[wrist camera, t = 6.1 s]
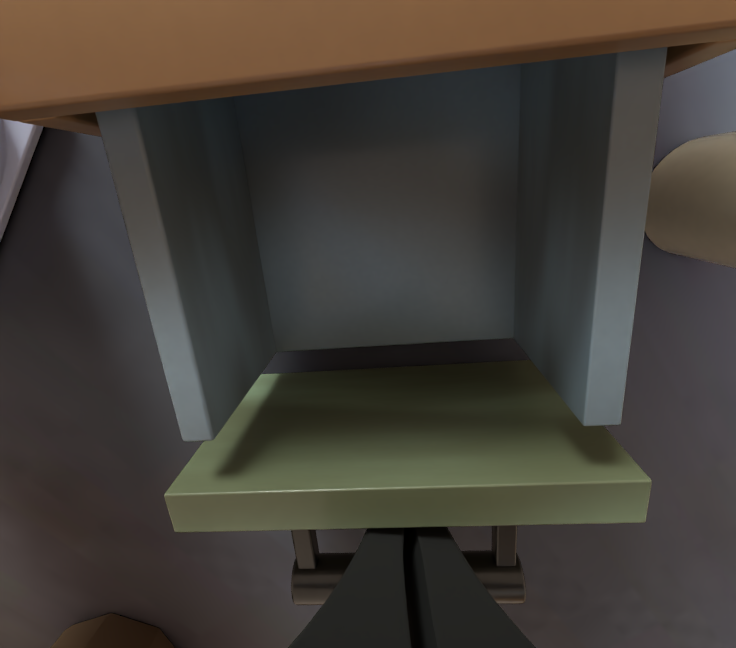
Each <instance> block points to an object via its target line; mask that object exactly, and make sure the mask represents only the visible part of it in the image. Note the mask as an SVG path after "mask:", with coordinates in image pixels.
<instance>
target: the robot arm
mask: <svg viewBox="0 0 736 648" xmlns="http://www.w3.org/2000/svg"><path fill="white" fill-rule="evenodd" d="M42 129H43V126H38V125H32V124H27V123H22V122H19V121H11V120H5V119H0V242H1V239H2V236H3V234H4V231H5V228H6V226H7V223H8V220H9V218H10V215H11V212H12V210H13V207H14V204H15V202H16V199H17V196H18V194H19V191H20V188H21V185H22V183H23V180H24V177H25V175H26V172H27V169H28V167H29V164H30V161H31V159H32V156H33V153H34V151H35V148H36V145H37V143H38V140H39V137H40V135H41V132H42ZM288 648H536V647H535V646H534V645H533V644H532V643H531V642H530V641H529V640H528V639H527V638H526V636H525V635H524V634H523V633H522V632H521V631H520V630H519V628H518V627H517V626H516V625H515V624H514V623H513V622H512V620H511V619H510V618H509V617H508V616H507V615H506V613H505V612H504V611H503V610H502V609H501V607H500V606H499V605H498V604H497V602H496V601H495V600H494V599H493V597H492V596H491V595H490V593H489V592H488V591H487V589H486V588H485V587H484V585H483V584H482V582H481V581H480V580H479V578H478V577H477V575H476V574H475V573H474V571H473V570H472V568H471V567H470V565H469V564H468V562H467V560H466V559H465V557H464V556H463V554H462V552H461V551H460V549H459V547H458V546H457V544H456V542H455V541H454V539H453V537H452V535H451V533H450V532H449V530H448V528H447V527H411V528H368V529H367V531H366V533H365V535H364V537H363V539H362V541H361V543H360V545H359V547H358V550H357V551H356V553H355V555H354V557H353V559H352V561H351V562H350V564H349V566H348V568H347V569H346V571H345V573H344V574H343V576H342V578H341V579H340V581H339V582H338V584H337V585H336V587H335V588H334V590H333V591H332V593H331V594H330V596H329V597H328V599H327V600H326V601H325V603H324V604H323V606H322V607H321V608H320V609H319V611H318V612H317V613H316V615H315V616H314V617H313V618H312V620H311V621H310V622H309V624H308V625H307V626H306V627H305V629H304V630H303V631H302V632H301V633H300V635H299V636H298V637H297V638H296V639H295V640H294V641H293V642H292V644H291V645H290V646H289V647H288Z"/></svg>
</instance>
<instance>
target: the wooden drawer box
mask: <svg viewBox="0 0 736 648" xmlns="http://www.w3.org/2000/svg"><path fill="white" fill-rule="evenodd" d="M662 47H667V55H666V63H665V71H664V78H666V77H668V76H670V75H673V74H675V73H678V72H680V71H683V70H685V69H688V68H690V67H693V66H695V65H697V64H700V63H702V62H705V61H707V60H710V59H712V58H715V57H717V56H719V55H722V54H724V53H727V52H729V51H732V50H734V49H736V0H0V119H5V120H11V121H19V122H22V123H27V124H32V125H38V126H43V127H49V128H55V129H60V130H66V131H72V132H77V133H83V134H89V135H94V136H100V137H102V136H101V132H100V129H99V125H98V121H97V117H96V114H95V112H100V111H109V110H118V109H127V108H136V107H144V106H153V105H162V104H171V103H179V102H188V101H197V100H206V99H214V98H223V97H232V96H241V95H250V94H258V93H267V92H276V91H285V90H293V89H302V88H311V87H320V86H329V85H337V84H346V83H355V82H364V81H372V80H381V79H390V78H399V77H407V76H416V75H425V74H434V73H443V72H451V71H460V70H469V69H478V68H486V67H495V66H504V65H513V64H521V63H530V62H539V61H548V60H557V59H565V58H574V57H583V56H592V55H600V54H609V53H618V52H627V51H636V50H644V49H653V48H662Z"/></svg>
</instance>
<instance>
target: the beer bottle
mask: <svg viewBox="0 0 736 648" xmlns="http://www.w3.org/2000/svg"><path fill="white" fill-rule="evenodd" d="M51 648H175V647H174V646H173V645H172V643H171V642H170V641H169V640H168V639H167V637H166V636H165V635H164V634H163V632H162V631H161V630H160V629H159V628H157V627H154V626H151V625H147V624H144V623H141V622H138V621H135V620H132V619H128V618H125V617H122V616H119V615H116V614H113V613H110V614H107V615H104V616H101V617H97V618H94V619H91V620H88V621H84V622H81V623H78V624H75V625H72V626H71V627H69V628H68V629H66V630H65V631H64V632H63V633H62V635H61V636H60V637H59V638H58V640H57V641H56V642H55V643H54V644H53V646H52V647H51Z"/></svg>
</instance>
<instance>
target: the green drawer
mask: <svg viewBox="0 0 736 648" xmlns="http://www.w3.org/2000/svg"><path fill="white" fill-rule="evenodd" d="M666 55H667V47H662V48H653V49H644V50H636V51H627V52H618V53H609V54H600V55H592V56H583V57H574V58H565V59H557V60H548V61H539V62H530V63H521V64H513V65H504V66H495V67H486V68H478V69H469V70H460V71H451V72H443V73H434V74H425V75H416V76H407V77H399V78H390V79H381V80H372V81H364V82H355V83H346V84H337V85H329V86H320V87H311V88H302V89H293V90H285V91H276V92H267V93H258V94H250V95H241V96H232V97H223V98H214V99H206V100H197V101H188V102H179V103H171V104H162V105H153V106H144V107H136V108H127V109H118V110H109V111H100V112H95V114H96V117H97V121H98V125H99V129H100V132H101V136H102V140H103V144H104V147H105V151H106V155H107V159H108V162H109V166H110V170H111V174H112V177H113V181H114V185H115V189H116V192H117V196H118V200H119V204H120V207H121V211H122V215H123V219H124V222H125V226H126V230H127V234H128V237H129V241H130V245H131V249H132V252H133V256H134V260H135V263H136V267H137V271H138V275H139V278H140V282H141V286H142V290H143V293H144V297H145V301H146V305H147V308H148V312H149V316H150V320H151V323H152V327H153V331H154V335H155V338H156V342H157V346H158V350H159V353H160V357H161V361H162V365H163V368H164V372H165V376H166V380H167V383H168V387H169V391H170V395H171V398H172V402H173V406H174V410H175V413H176V417H177V421H178V425H179V428H180V432H181V436H182V440H183V441H185V442H194V441H204V442H203V443H202V445H201V446H200V447H199V449H198V450H197V451H196V453H195V454H194V455H193V457H192V458H191V459H190V461H189V462H188V463H187V465H186V466H185V467H184V469H183V470H182V471H181V473H180V474H179V475H178V477H177V478H176V479H175V481H174V482H173V483H172V485H171V486H170V487H169V489H168V490H167V491H166V493H165V494H164V498H165V501H166V505H167V508H168V511H169V515H170V518H171V521H172V525H173V528H174V531H175V532H223V531H270V530H291V532H292V538H293V543H294V549H295V554H296V559H295V562H294V566H293V571H292V580H291V592H292V599H293V602H294V604H296V605H323V604H324V603H325V601H326V600H327V599H328V597H329V596H330V594H331V593H332V591H333V590H334V588H335V587H336V585H337V584H338V582H339V581H340V579H341V578H342V576H343V574H344V573H345V571H346V569H347V568H348V566H349V564H350V562H351V561H352V559H353V557H354V555H355V553H319V549H318V542H317V536H316V530H317V529H364V528H411V527H458V526H492V550H485V551H461V552H462V554H463V556H464V557H465V559H466V560H467V562H468V564H469V565H470V567H471V568H472V570H473V571H474V573H475V574H476V575H477V577H478V578H479V580H480V581H481V582H482V584H483V585H484V587H485V588H486V589H487V591H488V592H489V593H490V595H491V596H492V597H493V599H494V600H495V601H496V602H497V604H522V603H524V602H525V599H526V586H525V578H524V573H523V568H522V565H521V561H520V559H519V556H518V554H517V553H516V544H517V525H552V524H599V523H644V522H645V521H646V515H647V509H648V503H649V496H650V490H651V484H652V481H651V479H650V478H649V477H648V476H647V474H646V473H645V472H644V471H643V470H642V469H641V468H640V467H639V465H638V464H637V463H636V462H635V461H634V460H633V459H632V458H631V456H630V455H629V454H628V453H627V452H626V451H625V450H624V448H623V447H622V446H621V445H620V444H619V443H618V442H617V441H616V439H615V438H614V437H613V436H612V435H611V434H610V433H609V432H608V430H607V429H606V428H605V427H604V426H605V425H620V424H621V418H622V410H623V402H624V394H625V386H626V378H627V370H628V362H629V354H630V346H631V338H632V329H633V321H634V313H635V305H636V297H637V289H638V281H639V273H640V265H641V257H642V249H643V241H644V233H645V225H646V217H647V208H648V200H649V192H650V184H651V176H652V168H653V160H654V152H655V144H656V136H657V128H658V120H659V112H660V104H661V95H662V87H663V79H664V71H665V63H666ZM506 338H514V340H515V341H516V342H517V343H518V345H519V346H520V347H521V348H522V350H523V351H524V352H525V353H526V355H527V356H528V357H529V358H530V360H518V361H499V362H481V363H462V364H444V365H426V366H407V367H389V368H371V369H352V370H334V371H315V372H297V373H279V374H261V373H262V372H263V370H264V369H265V368H266V366H267V365H268V363H269V362H270V361H271V359H272V358H273V356H274V355H275V354H276V352H286V351H303V350H320V349H336V348H353V347H370V346H387V345H404V344H421V343H438V342H455V341H472V340H489V339H506Z"/></svg>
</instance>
